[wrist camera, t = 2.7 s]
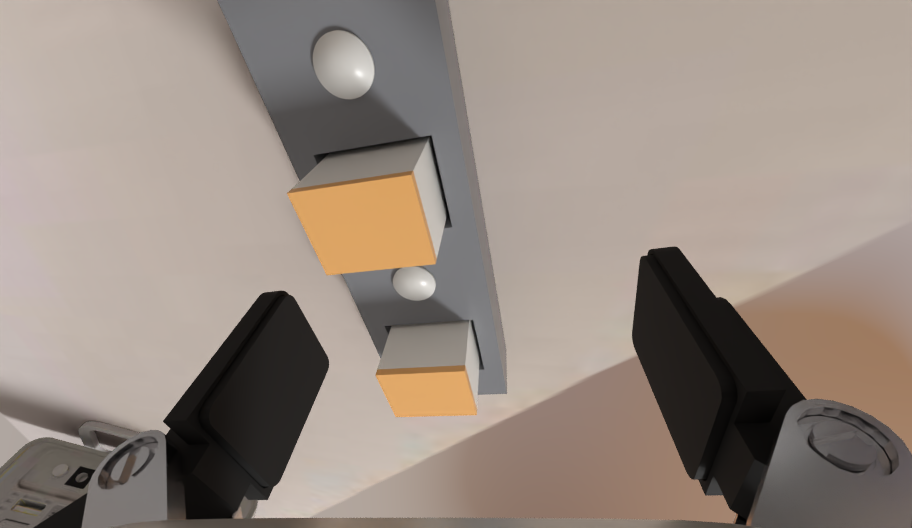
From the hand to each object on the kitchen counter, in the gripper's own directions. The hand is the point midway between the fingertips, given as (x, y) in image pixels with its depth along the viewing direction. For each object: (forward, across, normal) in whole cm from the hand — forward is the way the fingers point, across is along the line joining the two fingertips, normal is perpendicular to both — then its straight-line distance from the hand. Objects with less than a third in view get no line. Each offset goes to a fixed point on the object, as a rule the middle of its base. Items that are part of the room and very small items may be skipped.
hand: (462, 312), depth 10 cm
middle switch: (+10, +4, 0) cm, 11 cm away
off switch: (+10, +4, +11) cm, 15 cm away
